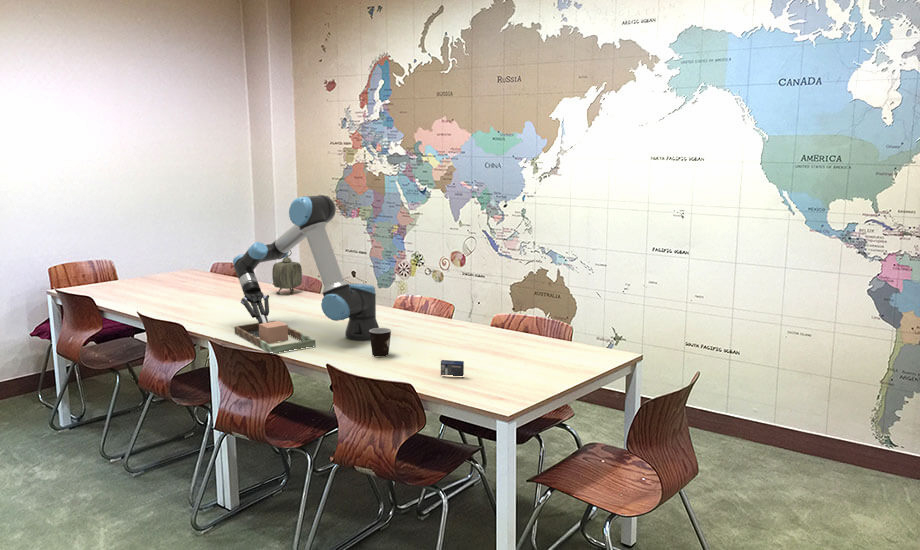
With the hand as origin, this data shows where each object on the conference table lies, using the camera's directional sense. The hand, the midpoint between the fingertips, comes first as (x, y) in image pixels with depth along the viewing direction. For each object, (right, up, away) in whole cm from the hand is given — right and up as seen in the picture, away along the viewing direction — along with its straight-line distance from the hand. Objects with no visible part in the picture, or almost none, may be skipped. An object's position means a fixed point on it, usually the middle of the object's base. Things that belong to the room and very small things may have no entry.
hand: (266, 329), depth 333 cm
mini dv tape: (+82, -14, -55) cm, 99 cm away
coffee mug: (+52, -9, -28) cm, 59 cm away
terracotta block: (+4, -5, -4) cm, 8 cm away
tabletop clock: (-11, +13, +93) cm, 95 cm away
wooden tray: (+4, -4, -4) cm, 8 cm away
